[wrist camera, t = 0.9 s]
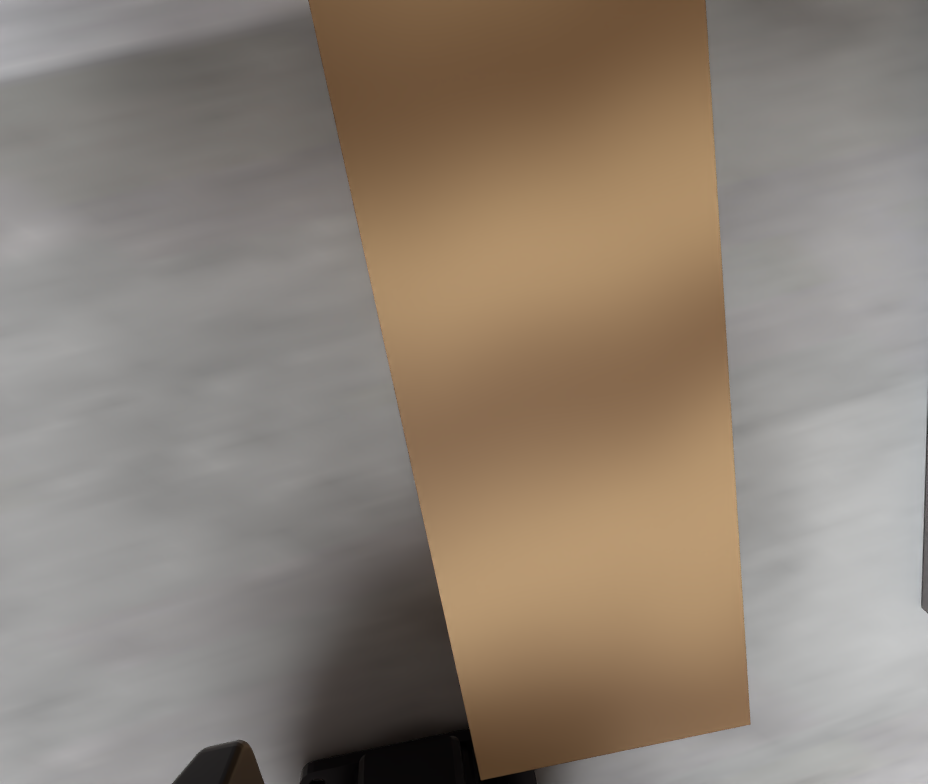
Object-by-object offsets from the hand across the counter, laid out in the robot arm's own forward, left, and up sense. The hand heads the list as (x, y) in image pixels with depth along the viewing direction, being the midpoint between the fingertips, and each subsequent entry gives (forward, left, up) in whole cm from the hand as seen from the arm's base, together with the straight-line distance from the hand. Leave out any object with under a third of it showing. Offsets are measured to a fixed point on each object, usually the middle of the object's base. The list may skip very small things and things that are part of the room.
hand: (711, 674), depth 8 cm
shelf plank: (0, 0, -12) cm, 12 cm away
